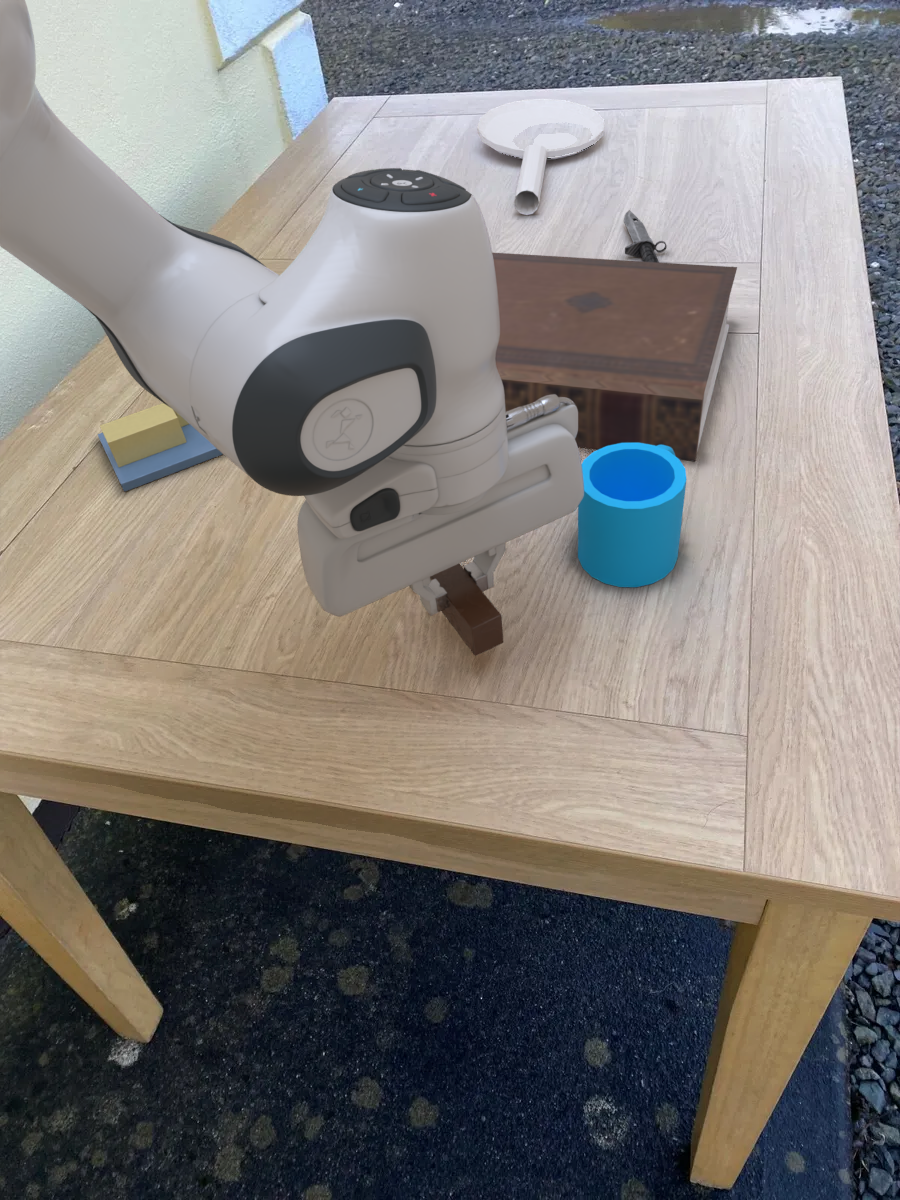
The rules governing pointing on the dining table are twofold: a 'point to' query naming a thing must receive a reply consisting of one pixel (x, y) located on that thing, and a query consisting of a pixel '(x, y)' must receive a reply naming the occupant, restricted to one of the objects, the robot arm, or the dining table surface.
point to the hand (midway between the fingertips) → (457, 596)
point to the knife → (640, 240)
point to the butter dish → (164, 460)
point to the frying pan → (536, 139)
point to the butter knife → (470, 610)
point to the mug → (631, 513)
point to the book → (614, 343)
